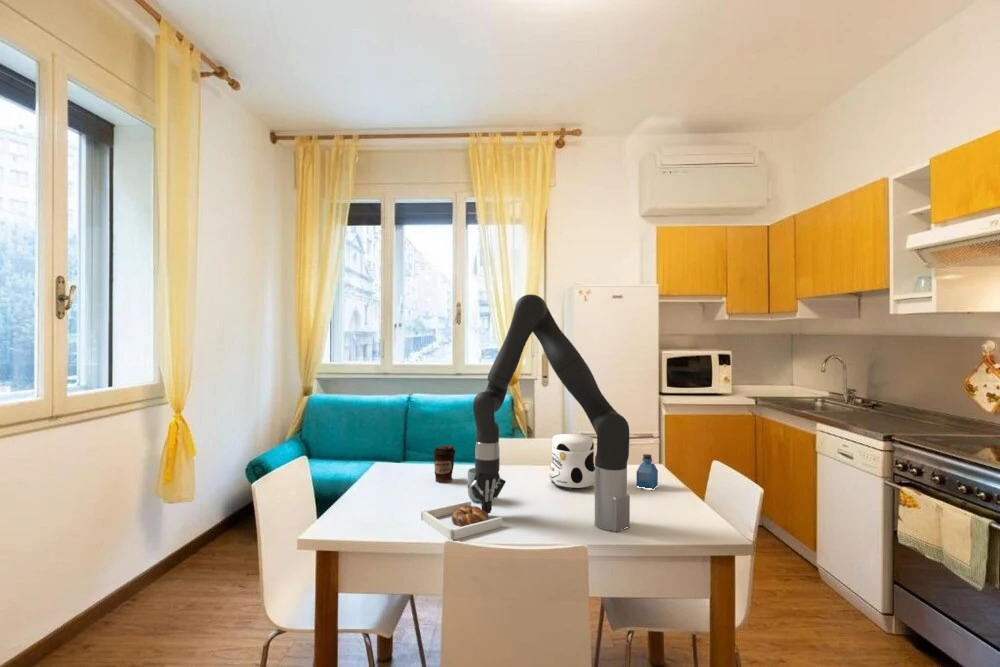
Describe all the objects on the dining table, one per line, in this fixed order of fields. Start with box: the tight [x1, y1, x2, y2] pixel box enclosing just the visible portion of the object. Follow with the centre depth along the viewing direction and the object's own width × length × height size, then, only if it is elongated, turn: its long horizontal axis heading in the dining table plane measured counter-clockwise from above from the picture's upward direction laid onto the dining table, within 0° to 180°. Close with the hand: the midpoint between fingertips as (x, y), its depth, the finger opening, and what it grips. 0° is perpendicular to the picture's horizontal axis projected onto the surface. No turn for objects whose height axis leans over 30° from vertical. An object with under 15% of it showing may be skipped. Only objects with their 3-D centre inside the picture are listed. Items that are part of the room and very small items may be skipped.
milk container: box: [548, 433, 595, 491], centre depth 176 cm, size 17×17×18 cm
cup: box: [467, 467, 482, 503], centre depth 158 cm, size 8×8×10 cm
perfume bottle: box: [635, 453, 659, 489], centre depth 175 cm, size 6×6×12 cm
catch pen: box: [420, 500, 503, 541], centre depth 138 cm, size 18×17×2 cm
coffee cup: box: [433, 445, 456, 483], centre depth 180 cm, size 9×8×13 cm
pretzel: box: [451, 505, 490, 527], centre depth 140 cm, size 12×11×4 cm
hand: (486, 512), depth 144 cm, fingers closed
